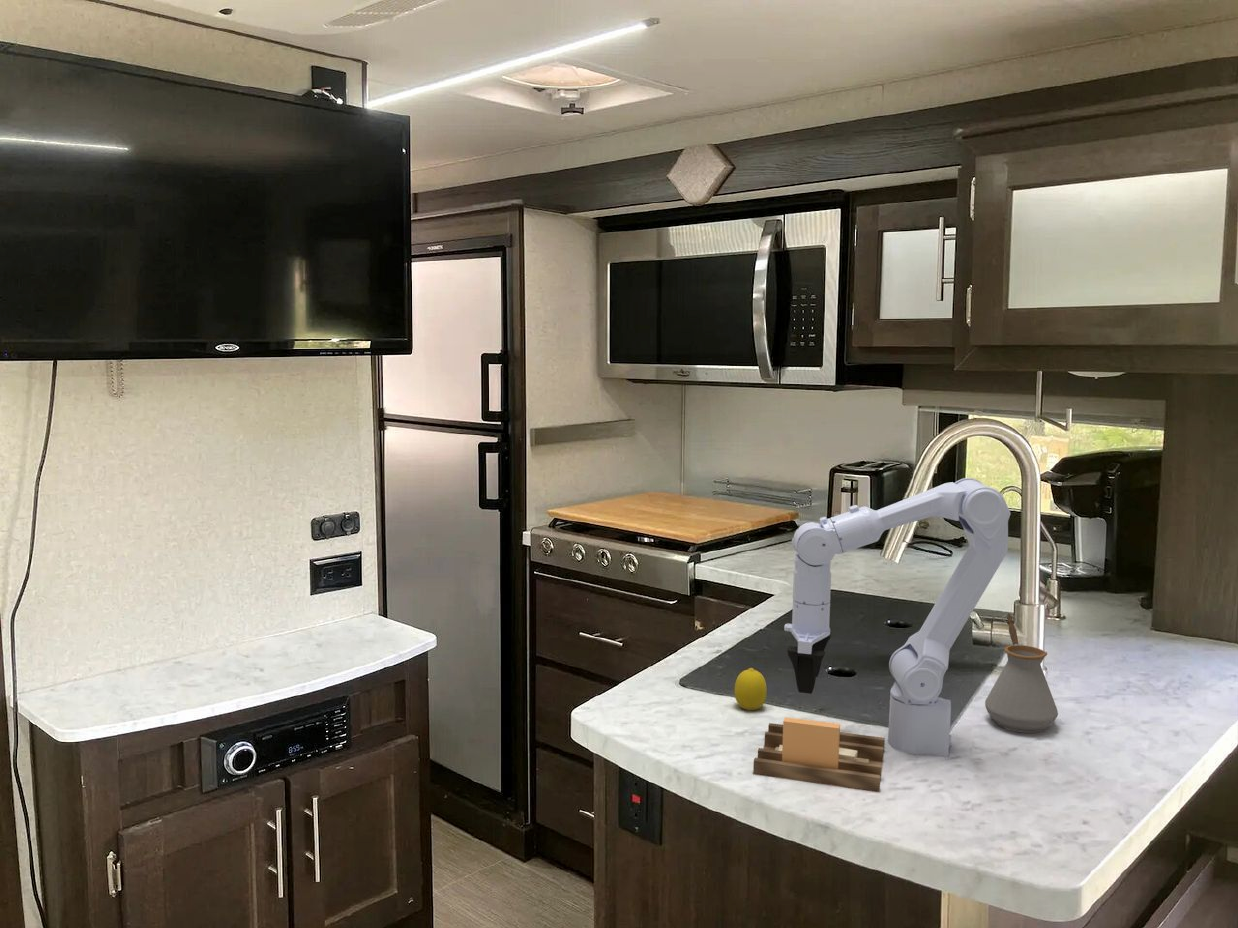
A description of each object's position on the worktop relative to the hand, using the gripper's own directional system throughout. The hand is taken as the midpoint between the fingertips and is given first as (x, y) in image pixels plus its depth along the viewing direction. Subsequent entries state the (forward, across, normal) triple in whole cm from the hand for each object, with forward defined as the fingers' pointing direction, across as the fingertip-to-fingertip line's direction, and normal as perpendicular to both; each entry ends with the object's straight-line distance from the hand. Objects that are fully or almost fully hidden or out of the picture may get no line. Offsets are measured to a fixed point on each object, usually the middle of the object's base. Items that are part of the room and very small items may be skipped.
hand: (808, 683), depth 156 cm
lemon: (+11, -11, -11) cm, 19 cm away
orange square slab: (+9, +12, +2) cm, 15 cm away
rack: (+10, +6, +3) cm, 13 cm away
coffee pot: (+11, -26, +33) cm, 43 cm away
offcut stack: (+9, +7, +3) cm, 12 cm away
